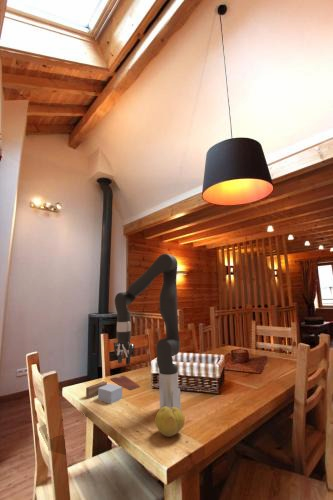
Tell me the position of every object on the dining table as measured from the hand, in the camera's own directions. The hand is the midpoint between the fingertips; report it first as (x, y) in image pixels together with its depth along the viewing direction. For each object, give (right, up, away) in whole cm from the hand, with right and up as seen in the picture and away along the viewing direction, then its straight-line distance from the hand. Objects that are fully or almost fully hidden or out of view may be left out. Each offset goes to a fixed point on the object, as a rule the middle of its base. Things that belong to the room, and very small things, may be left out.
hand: (123, 363), depth 135 cm
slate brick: (-8, -21, +3) cm, 22 cm away
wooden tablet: (-4, -25, +27) cm, 37 cm away
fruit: (+24, -14, -33) cm, 43 cm away
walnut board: (-17, -22, +10) cm, 29 cm away
